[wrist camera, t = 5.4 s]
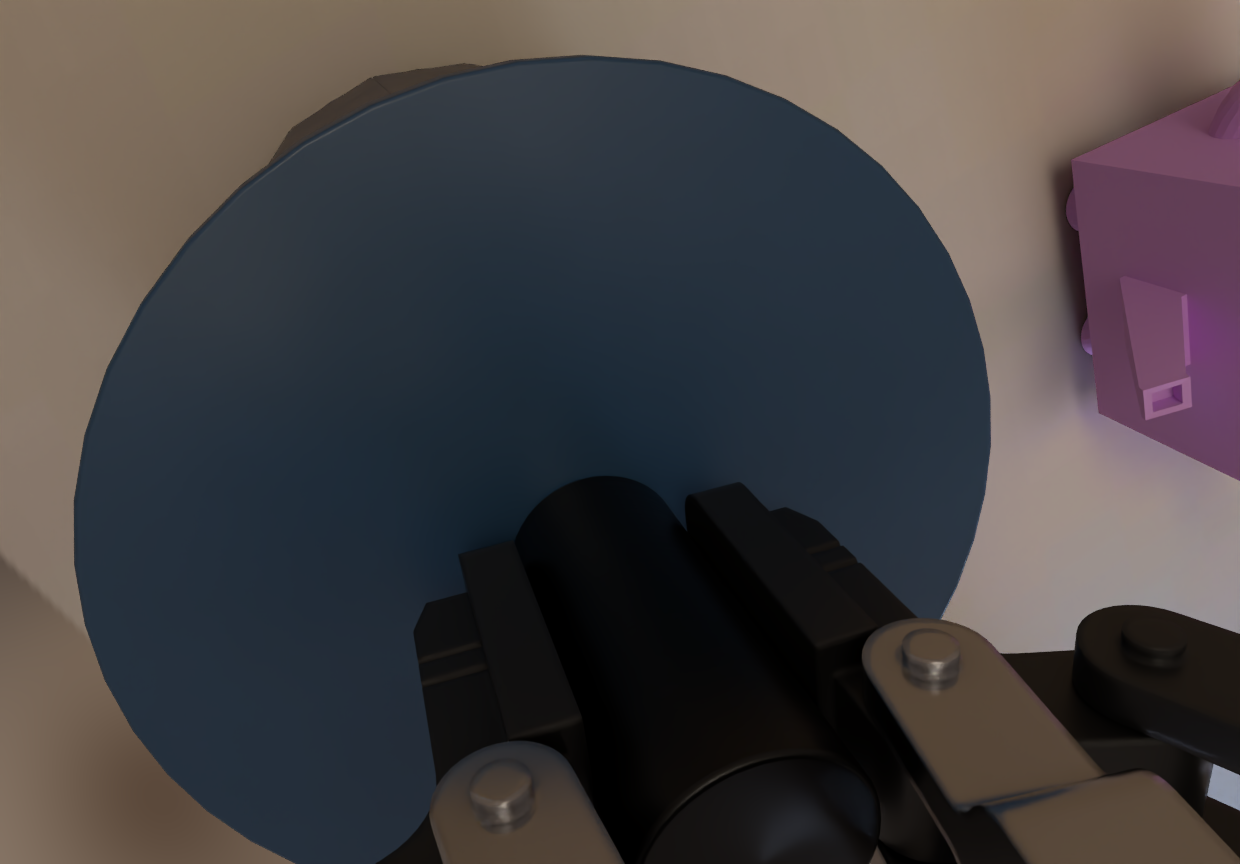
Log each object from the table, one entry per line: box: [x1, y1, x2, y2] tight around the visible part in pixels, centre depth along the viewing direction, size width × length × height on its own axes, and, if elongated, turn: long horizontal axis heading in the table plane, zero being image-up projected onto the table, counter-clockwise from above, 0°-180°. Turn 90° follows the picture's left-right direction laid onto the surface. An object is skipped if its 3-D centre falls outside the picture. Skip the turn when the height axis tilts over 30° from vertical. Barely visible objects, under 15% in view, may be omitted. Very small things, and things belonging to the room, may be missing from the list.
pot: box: [269, 63, 482, 163], centre depth 22 cm, size 12×12×8 cm
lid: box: [74, 55, 991, 864], centre depth 11 cm, size 13×13×7 cm
